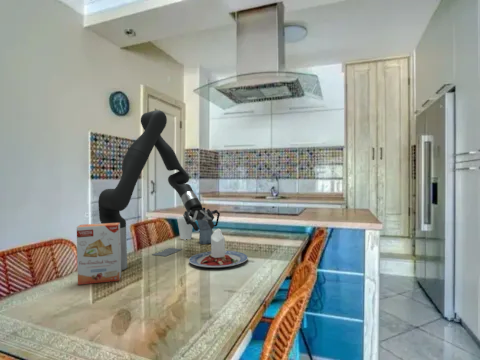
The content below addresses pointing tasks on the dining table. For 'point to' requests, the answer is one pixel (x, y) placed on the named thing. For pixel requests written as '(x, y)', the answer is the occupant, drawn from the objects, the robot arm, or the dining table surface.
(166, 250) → the mat
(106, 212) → the robot arm
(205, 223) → the moka pot
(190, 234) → the foam cup
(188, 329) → the dining table surface
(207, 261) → the ceramic plate
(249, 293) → the dining table surface
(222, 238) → the white peaked cylinder
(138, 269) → the dining table surface
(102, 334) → the dining table surface
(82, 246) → the cracker box
